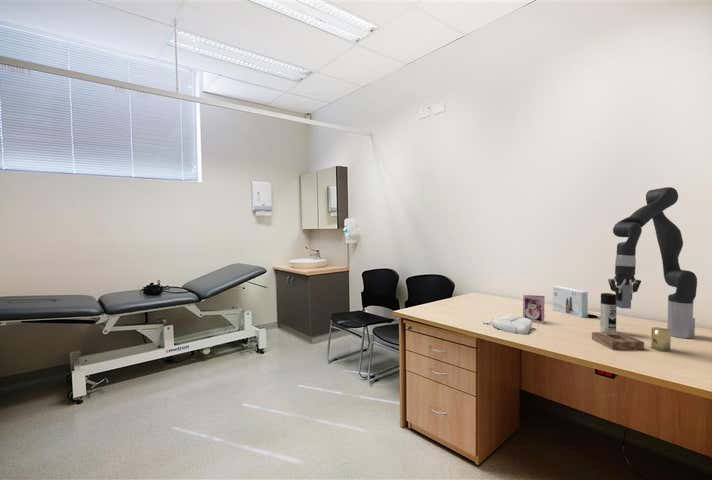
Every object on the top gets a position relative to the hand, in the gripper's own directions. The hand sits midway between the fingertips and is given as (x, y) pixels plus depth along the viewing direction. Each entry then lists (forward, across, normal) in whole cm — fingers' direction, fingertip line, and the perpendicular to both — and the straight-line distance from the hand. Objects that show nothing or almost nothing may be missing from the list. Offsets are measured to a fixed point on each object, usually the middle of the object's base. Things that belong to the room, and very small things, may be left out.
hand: (623, 300), depth 161 cm
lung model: (+22, +45, -24) cm, 56 cm away
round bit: (+20, -12, +8) cm, 24 cm away
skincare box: (+20, -7, -55) cm, 59 cm away
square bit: (+3, 0, 0) cm, 3 cm away
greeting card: (+21, +23, -37) cm, 48 cm away
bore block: (+20, +4, +2) cm, 21 cm away
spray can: (+20, -5, -17) cm, 27 cm away
